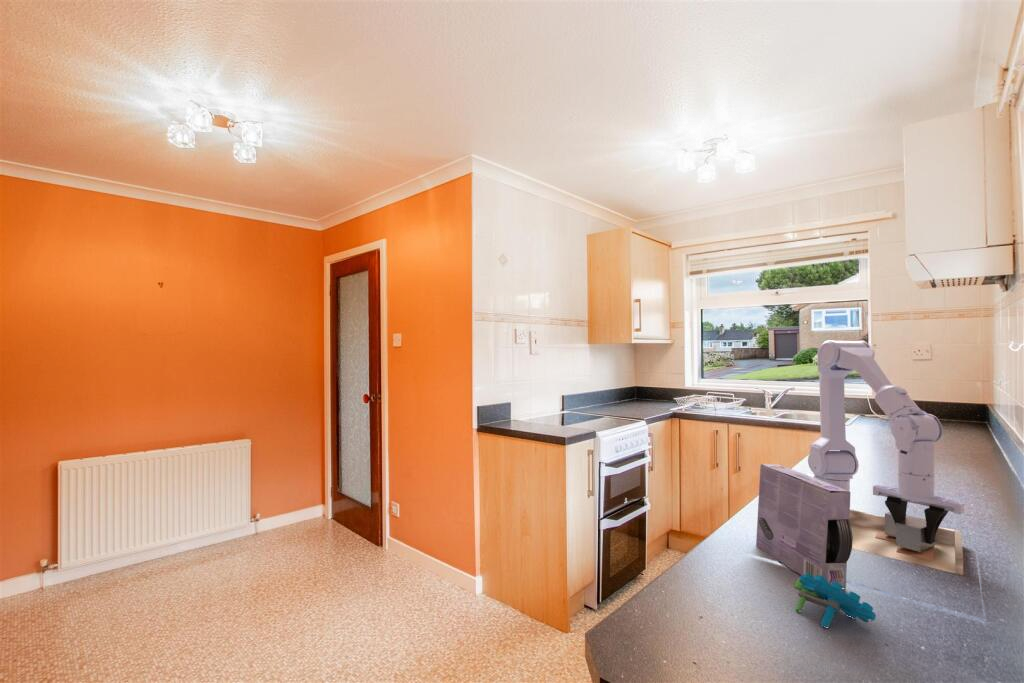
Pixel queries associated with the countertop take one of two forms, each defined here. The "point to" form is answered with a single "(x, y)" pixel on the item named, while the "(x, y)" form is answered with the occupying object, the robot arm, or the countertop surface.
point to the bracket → (908, 532)
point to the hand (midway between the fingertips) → (915, 538)
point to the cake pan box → (804, 523)
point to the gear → (831, 599)
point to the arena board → (874, 540)
